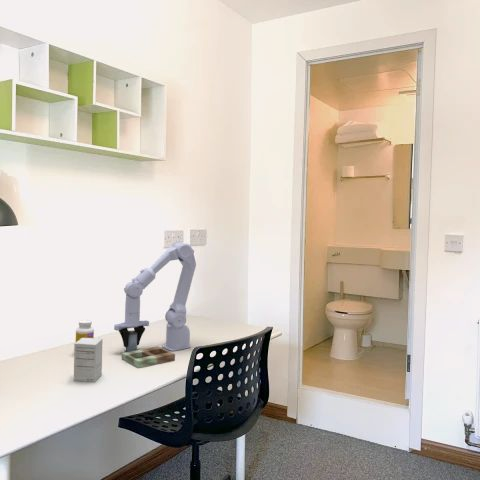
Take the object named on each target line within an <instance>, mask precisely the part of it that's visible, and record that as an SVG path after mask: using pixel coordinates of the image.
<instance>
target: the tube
mask: <svg viewBox="0 0 480 480" xmlns="http://www.w3.org/2000/svg"><path fill="white" fill-rule="evenodd" d="M129 331H130V333H129V338H128V347H125V352H131V351H136V350H138V345H137V334H138V332H137V331H134V330H129Z"/></svg>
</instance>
